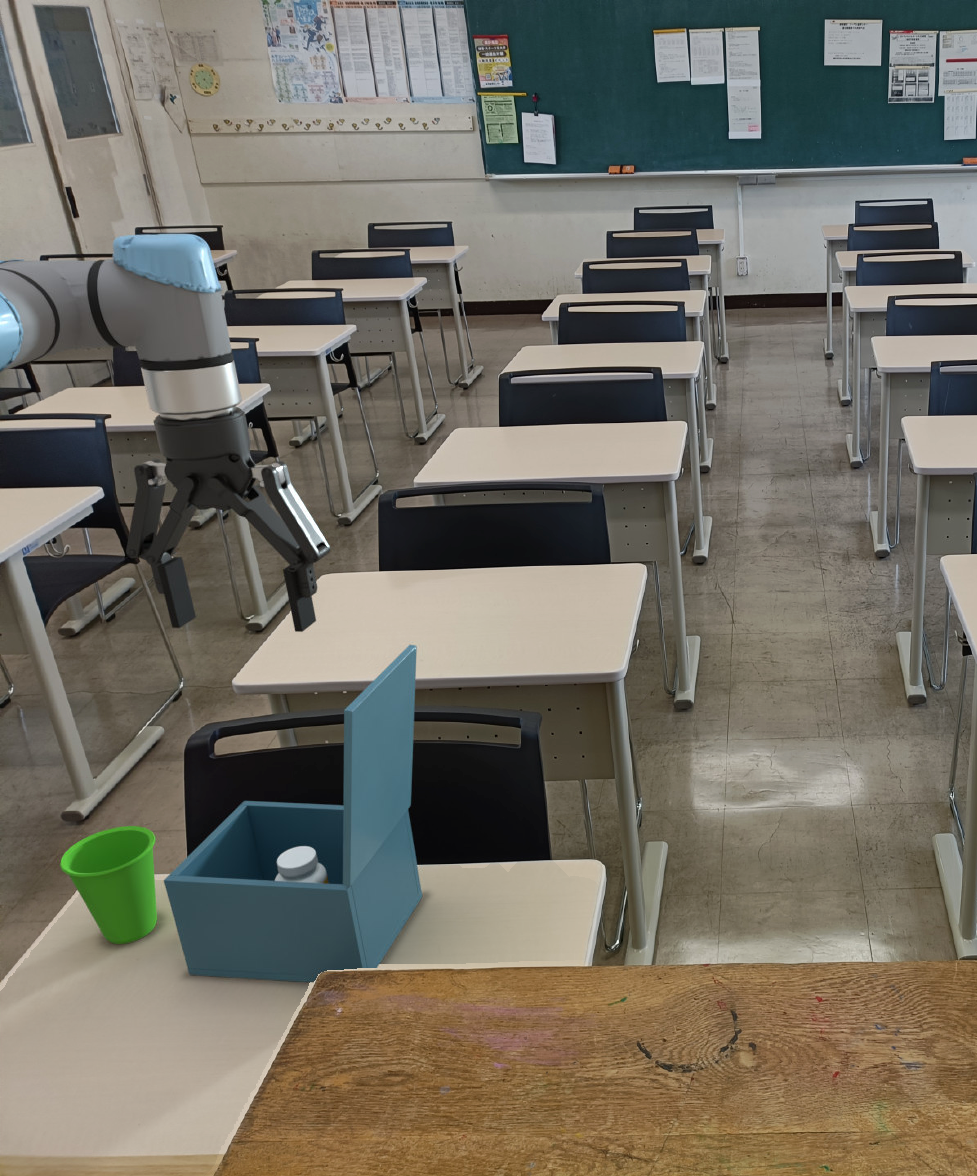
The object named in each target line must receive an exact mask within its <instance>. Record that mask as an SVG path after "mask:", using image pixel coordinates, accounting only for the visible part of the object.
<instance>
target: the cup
mask: <svg viewBox="0 0 977 1176" xmlns="http://www.w3.org/2000/svg"><path fill="white" fill-rule="evenodd" d="M155 844H156V836H155V834H154V832H153V831H152V830H150V829H148V828H147V827H142V826H138V825H124V826H118V827H113V828H107V829H105V830H102V831H98V832H95V833H93V834H90V835H89V836H86V837H85V838H82V839H81V840H79V841H77V842H76V843H75V844H73V845H72V846H70V847H69V848H68V849H67V850H66V851H65V852H64V853H63V856H62V857H61V859H60V864H59V867H60V870H61V871H62V872H63V873H65V874H66V875H68V876H69V878H70V879H71V881H72V883H73V885H74V886H75V888H76V890H77V892H78V893H79V895H80V897H81V899H82V900H83V902H84V904H85V906H86V907H87V909H88V911H89V913H90V915H91V916H92V918H93V919H94V921H95V923H96V925H97V927H98V929H99V930H100V932H101V934H102V936H103V937H104V939H105V940H106V941H108V942H109V943H111V944H115V945H124V944H129V943H130V944H131V943H133V942H136V941H138V940H141V939H142V938H144V937H146V936H147V935H149V934H150V933H151V932H152V931H153V930H154V929H155V927H156V924H157V921H158V913H157V896H156V895H157V894H156V879H155V865H154V864H155V863H154V849H153V848H154V845H155Z"/></svg>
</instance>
